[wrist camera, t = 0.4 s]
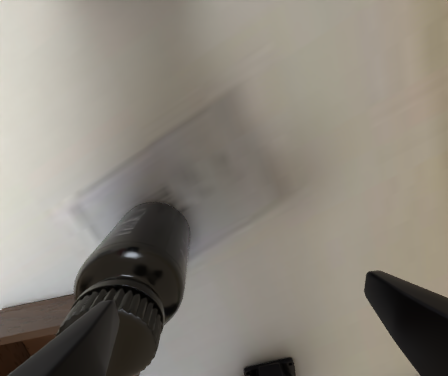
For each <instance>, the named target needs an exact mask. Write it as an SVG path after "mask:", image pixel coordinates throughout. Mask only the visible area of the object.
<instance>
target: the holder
mask: <svg viewBox="0 0 448 376" xmlns="http://www.w3.org/2000/svg"><path fill="white" fill-rule="evenodd" d="M74 303H75V300H74V294H73V295H68V296H63V297H58V298H53V299H48V300H44V301H39V302H34V303H29V304H24V305H19V306H14V307H9V308H4V309H2V310H1V311H0V376H7V375H9V374H10V373H11V372H12V371H14V370H15V369H16V368H17V367H19V366H20V365H21V364H23V363H24V362H25V361H26V360H28V359H29V358H30V357H31V356H33V355H34V354H35V353H36V352H38V351H39V350H40V349H41V348H43V347H44V346H45V345H46V344H48V343H49V342H50V341H51V340H53V339H54V338H55V337H56V333H57V331H58V330H59V327H60V325H61V324H62V322H63V321H64V319H65V318H66V316H67V315H68V314H69V312H70V310H71V308H72V306H73V304H74ZM139 374H140V372H139V373H138V374H136V375H133V376H139Z"/></svg>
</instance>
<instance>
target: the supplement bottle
mask: <svg viewBox="0 0 448 376" xmlns="http://www.w3.org/2000/svg"><path fill="white" fill-rule="evenodd" d="M189 242H190V230H189V225H188V223H187V221H186V219H185V217H184V216H183V215H182V214H181V213H180V212H179V211H178V210H177V209H175V208H174V207H172V206H170V205H168V204H165V203H160V202H148V203H144V204H140V205H138V206H136V207H134V208H133V209H131V210H130V211H129V212H128V213H127V214H126V215H125V216H124V217H123V218H122V219H121V220H120V222H119V223H118V224H117V225H116V226H115V227H114V229H113V230H112V231H111V232H110V233H109V234H108V236H107V237H106V238H105V239H104V240H103V241H102V243H101V244H100V245H99V246H98V247H97V248H96V249H95V251H94V252H93V253H92V254H91V255H90V256H89V258H88V259H87V260H86V261H85V263H84V264H83V265H82V267H81V268H80V270H79V272H78V274H77V277H76V280H75V285H74V300H75V303H74V304H73V306H72V308H71V310H70V312H69V314H68V315H67V316H66V318H65V319H64V321H63V322H62V324H61V325H60V327H59V330H58V331H57V333H56V336H58V335H59V334H60V333H62V332H63V331H64V330H65V329H67V328H68V327H69V326H70V325H72V324H73V323H74V322H75V321H77V320H78V319H79V318H80V317H82V316H83V315H84V314H85V313H87V312H88V311H89V310H90V309H92V308H93V307H94V306H95V305H97V304H98V303H99V302H101V301H107V300H114V301H115V303H116V307H117V311H118V316H119V328H118V332H117V335H116V339H115V343H114V346H113V350H112V354H111V357H110V361H109V365H108V368H107V372H106V375H105V376H133V375H136V374H138V373H139V372H140V371H142V370H144V369H145V368H146V366H148V365H149V364H150V363H151V360H152V359H153V358H154V357H155V354H156V351H157V348H158V344H159V340H160V334H161V332H162V329H163V326H164V325H165V324H166V323H167V322H168V321H169V320H170V319H171V318H172V317H173V316H174V315H175V313H176V312H177V310H178V309H179V307H180V305H181V302H182V299H183V294H184V288H185V279H186V270H187V261H188V251H189Z"/></svg>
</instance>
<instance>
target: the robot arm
mask: <svg viewBox="0 0 448 376" xmlns="http://www.w3.org/2000/svg"><path fill="white" fill-rule="evenodd" d="M364 292H365V296H366V298H367V299H368V301H369V302H370V304H371V306H372V307H373V309H374V310H375V312H376V313H377V315H378V316H379V318H380V320H381V321H382V323H383V324H384V326H385V327H386V329H387V330H388V332H389V334H390V335H391V336H392V338H393V339H394V341H395V342H396V344H397V345H398V346H399V348H400V349H401V350H402V352H403V353H404V354H405V356H406V357H407V358H408V360H409V361H410V362H411V364H412V365H413V366H414V368H415V369H416V370H417V372H418V373H419V374H420V375H421V376H448V298H447V297H444V296H442V295H439V294H437V293H434V292H432V291H429V290H427V289H424V288H422V287H419V286H417V285H414V284H412V283H409V282H407V281H405V280H402V279H400V278H397V277H395V276H392V275H390V274H387V273H385V272H382V271H369V272H368V273H367V274H366V281H365V288H364ZM118 328H119V316H118V311H117V307H116V303H115V301H114V300H107V301H101V302H99V303H98V304H97V305H95V306H94V307H93V308H92V309H90V310H89V311H88V312H87V313H85V314H84V315H83V316H82V317H80V318H79V319H78V320H77V321H75V322H74V323H73V324H72V325H70V326H69V327H68V328H67V329H65V330H64V331H63V332H62V333H60V334H59V335H58V336H56V337H55V338H54V339H53V340H51V341H50V342H49V343H48V344H46V345H45V346H44V347H43V348H41V349H40V350H39V351H38V352H36V353H35V354H34V355H33V356H31V357H30V358H29V359H28V360H26V361H25V362H24V363H23V364H21V365H20V366H19V367H17V368H16V369H15V370H14V371H12V372H11V373H10V374H9V375H7V376H105V375H106V372H107V368H108V365H109V361H110V357H111V354H112V350H113V346H114V343H115V339H116V335H117V332H118ZM244 375H245V376H295V368H294V362H293V359H292V358H287V359H282V360H278V361H273V362H269V363H264V364H260V365H255V366H251V367H246V368H245V369H244Z"/></svg>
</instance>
